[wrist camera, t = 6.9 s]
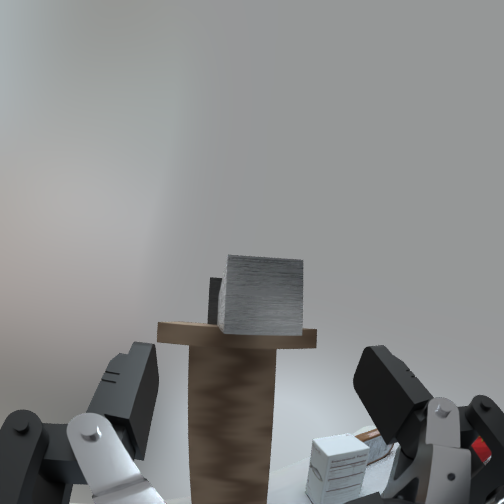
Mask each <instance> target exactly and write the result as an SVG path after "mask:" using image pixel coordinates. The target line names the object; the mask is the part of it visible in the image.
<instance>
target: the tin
mask: <svg viewBox="0 0 504 504" xmlns="http://www.w3.org/2000/svg"><path fill="white" fill-rule="evenodd" d="M355 437H356V438H357V439H359V440H360V441H362V442H363V443H364V444H366V445H367V446H369V447H370V451H369V456H368V461H367V465H369V464H371V463H373V462H376V461H378V460H380V459H382V458H384V457H385V456H386V455H387V454H388V453H389V452H390V451H391V449H392V448H393V445H394V443H393V444H390V445H386V443H385V442H384V440H383V438H382V436H381V434H380V433H379V431H378V429H374V430H371V431H368V432H365V433H362V434H359V435H357V436H355Z"/></svg>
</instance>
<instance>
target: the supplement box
mask: <svg viewBox="0 0 504 504" xmlns="http://www.w3.org/2000/svg"><path fill="white" fill-rule="evenodd" d="M369 451H370V447H369V446H367V445H366V444H364V443H363V442H362V441H360V440H359V439H357V438H356V437H355V436H353V435H352V434H351V433H348V434H342V435H336V436H330V437H324V438H316V439H313V443H312V450H311V458H310V465H309V472H308V479H307V485H306V491H305V492H306V494H307V495H308V496H309V498H310V499H311V501H312V503H313V504H344V503H346V502H348V501H351V500H354V499H358V497H359V494H360V490H361V486H362V482H363V478H364V474H365V470H366V466H367V461H368V456H369Z"/></svg>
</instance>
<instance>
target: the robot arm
mask: <svg viewBox="0 0 504 504" xmlns="http://www.w3.org/2000/svg"><path fill="white" fill-rule="evenodd" d="M353 385H354V389H355V391H356V393H357V394H358V396H359V398H360V399H361V401H362V403H363V405H364V406H365V408H366V410H367V411H368V413H369V415H370V417H371V418H372V420H373V422H374V424H375V426H376V427H377V429H378V431H379V433H380V434H381V436H382V438H383V440H384V442H385V443H386V445H390V444H393V443H396V442H398V443H399V444H400V445H399V447H398V448H397V450H396V454H395V458H394V462H393V466H392V470H391V473H390V477H389V480H388V484H387V486H386V488H385V490H384V491H383V493H382V494H381V495H380V493H379V492H376V493H373V494H370V495H367V496H364V497H361V498H358V499H354V500H351V501H348V502H346V503H344V504H504V413H503V412H502V411H501V409H500V408H499V407H498V406H497V405H496V404H495V403H494V401H493V400H491V399H490V398H489V397H487V396H483V395H477V396H475V397H474V398H473V400H472V401H471V403H470V404H469V406H464V407H457V406H456V405H455V404H454V403H453V402H452V401H451V400H449V399H446V398H442V397H437V398H434V397H433V396H432V395H431V394H430V393H429V391H428V390H427V389H426V388H425V387H424V386H423V384H422V383H421V382H420V381H419V380H418V378H417V377H415V375H414V374H413V373H412V372H411V371H410V369H409V368H408V367H407V366H406V365H405V363H404V362H403V361H401V360H400V359H398V358H397V357H395V356H394V355H392V354H391V353H390V351H389V350H388V349H387V348H386V347H385V346H384V345H379V346H369V347H366V348H365V349H364V351H363V353H362V356H361V358H360V361H359V364H358V366H357V369H356V372H355V374H354V378H353ZM158 386H159V374H158V366H157V357H156V348H155V345H154V344H150V343H142V342H134V343H133V344H132V347H131V349H130V351H129V354H122V353H119V354H118V355H117V356H116V357H115V358H113V359H112V360H111V361H110V362H109V364H108V367H107V369H106V371H105V373H104V375H103V377H102V381H100V383H99V385H98V388H97V390H96V392H95V394H94V396H93V398H92V401H91V403H90V405H89V407H88V410H87V411H86V413H83V414H80V415H77V416H75V417H74V418H73V419H72V420H71V421H70V422H69V424H48V423H42V422H41V420H40V419H39V417H38V416H37V415H36V414H35V413H33V412H31V411H28V410H17V411H14V412H12V413H11V414H10V415H9V416H8V417H7V418H6V420H5V422H4V423H3V425H2V427H1V429H0V504H69V502H70V496H71V492H72V487H73V484H88V485H89V487H90V489H91V491H92V493H93V496H92V498H93V501H94V503H95V504H166V503H165V502H164V500H163V499H162V498H161V497H160V495H159V494H158V493H157V492H156V490H155V489H154V488H153V486H152V485H151V484H150V483H149V481H148V480H147V479H145V478H144V477H143V476H142V474H141V473H140V471H139V470H138V468H137V467H136V465H135V464H134V459H137V460H144V457H145V451H146V446H147V441H148V436H149V431H150V426H151V421H152V416H153V411H154V407H155V402H156V397H157V393H158ZM479 436H480V437H481V438H482V439H483V441H484V442H485V444H486V445H487V446H488V448H489V449H490V451H491V459H490V461H489V462H488V463H487V464H486V465H484V464H483V462H482V461H481V459H480V458H479V456H478V455H477V453H476V452H475V450H474V449H473V447H472V446H471V445H472V444H473V443H474V442H475V440H476V439H477V438H478V437H479Z"/></svg>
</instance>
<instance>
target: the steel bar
mask: <svg viewBox="0 0 504 504" xmlns="http://www.w3.org/2000/svg"><path fill="white" fill-rule="evenodd" d="M302 322H303V260H296V259H281V258H266V257H252V256H238V255H228V256H227V261H226V265H225V270H224V274H223V278H210V288H209V306H208V324H210V325H217V326H218V327H219V328H220V330H221V331H222V332H223V333H224V334H238V335H274V336H302Z"/></svg>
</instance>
